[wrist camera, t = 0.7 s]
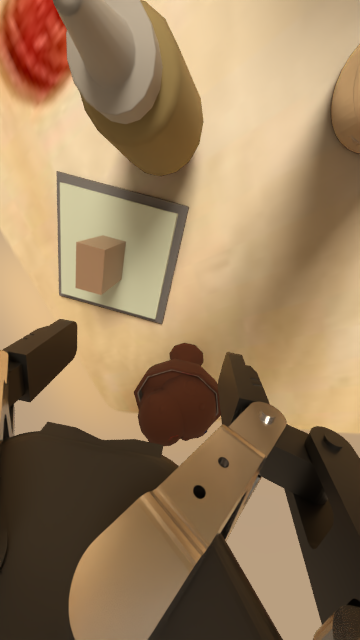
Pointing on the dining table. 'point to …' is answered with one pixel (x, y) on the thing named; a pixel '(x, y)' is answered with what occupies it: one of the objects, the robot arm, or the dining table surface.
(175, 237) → the mat
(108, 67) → the squeeze bottle
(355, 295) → the dining table surface
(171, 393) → the ice cream bowl
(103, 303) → the cover
